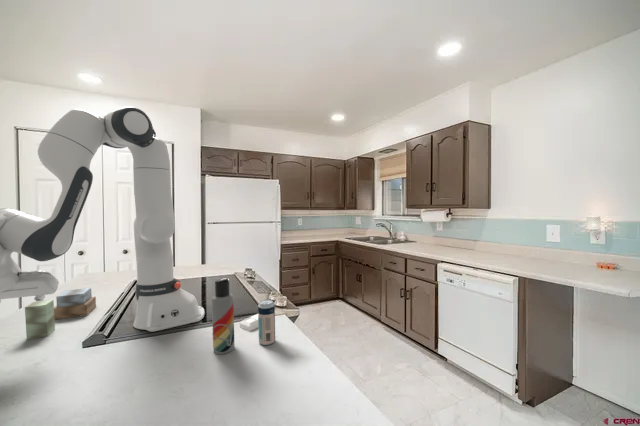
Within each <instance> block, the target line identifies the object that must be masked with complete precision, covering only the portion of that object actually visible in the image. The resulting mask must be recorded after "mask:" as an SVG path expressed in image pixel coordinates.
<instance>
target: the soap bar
mask: <svg viewBox="0 0 640 426" xmlns="http://www.w3.org/2000/svg"><path fill="white" fill-rule="evenodd" d="M239 328H241V329H243V330H246V331H248V332H250V331H253V330H255V329H257V328H258V313H256V314H254V315H251V316H248V317H247V318H245V319H243V320H241V321H240V322H239Z"/></svg>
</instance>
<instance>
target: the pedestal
mask: <svg viewBox="0 0 640 426" xmlns="http://www.w3.org/2000/svg"><path fill="white" fill-rule="evenodd" d="M55 298H56V299H55V300H56V306H54V320H61V319H62V320H63V319H69V318H76V317H77V318H78V317H84V316H88V315H89V314H90V313H91V312H92V311H93V310H94V309H95V308H96V307H97V298H96V296H93V295H92V287H87V288H86V287H85V288H76V289H68V290H64V291H63V292H61V293H59V294H58V295H57V296H56V297H55Z"/></svg>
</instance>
